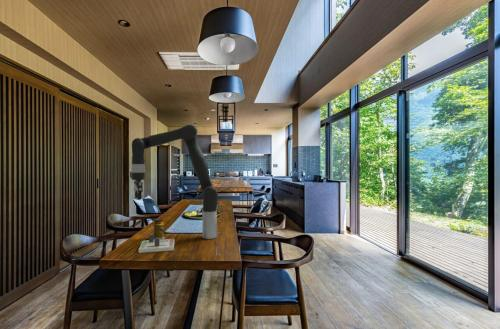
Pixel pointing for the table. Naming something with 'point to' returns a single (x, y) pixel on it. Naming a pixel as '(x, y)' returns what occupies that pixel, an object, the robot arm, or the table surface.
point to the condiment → (158, 229)
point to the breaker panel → (150, 246)
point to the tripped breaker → (157, 241)
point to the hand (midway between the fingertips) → (138, 198)
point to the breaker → (151, 237)
